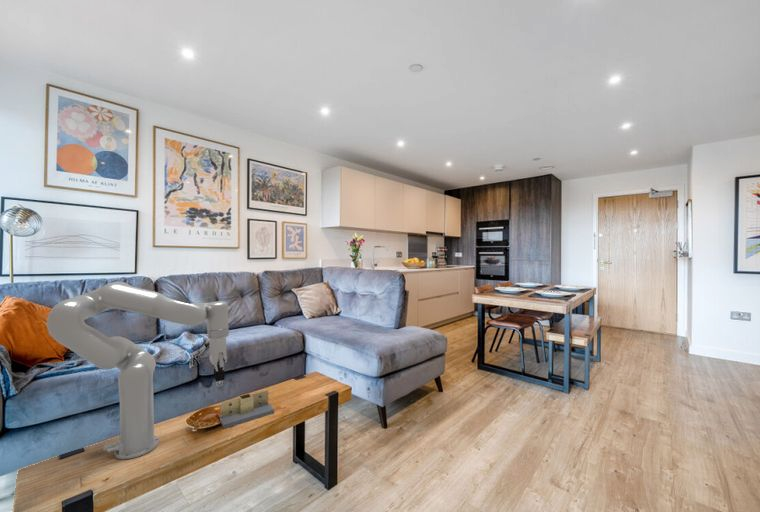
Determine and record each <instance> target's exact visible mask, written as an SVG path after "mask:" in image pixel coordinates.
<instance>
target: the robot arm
mask: <svg viewBox="0 0 760 512" xmlns="http://www.w3.org/2000/svg"><path fill="white" fill-rule="evenodd" d="M111 309H115V310H122V311H126V312H132V313H136V314H141V315H146V316H149V317H152V318H156V319H161V320H163V321H168V322H171V323H175V324H180V325H186V326H193V327H194V326H198V325H201V324H203V322H205V321H206V328H207V329H206V331H207V339H209V350H208V351H209V361H210V363H211V364H212V365H213V379H214V380H215V383H216V382H218V381H222V380H223V381H225V377H226V374H225V363H227V361H228V356H227V355H228V354H227V349H228V348H227V337H229V335H230V334H229V331H230V329H229V304H228V302H227V301H221V300H220V301H219V300H218V301H211V302H198V301H197V302H191V303H187V302H183V301H180V300H175V299H172V298H169V297H167V296H166V295H164V294H163V293H161V292H158V291H154V290H150V289H144V288H141V287H137V286H133V285H130V284H129V283H127V282H124V281H114V282H110V283H106V284H104V285H103V286H101V287H99V288H97V289H94V290H90V291H88V292H85V293H83V294H80V295H77V296H73V297H70V298H67V299H64V300H62V301H59V302H58V303H57V304H55V305H54V306H53V307H52V308H51V310H50V312H49V313H48V315H47V319H46V328H47V332H48V334H49V335H50V336H51V338H52V339H53V340H55V341H56V342H57V343H58V344H60V345H62V347H64V348H67V349H69V350H70V351H71V352H73V353H74V354H75V355H78V357H80V358H82V359H84V360H85V361H87V362H89V363H90V364H92V365H94V366H95V367H97V368H98V369H101V370H113V369H115V368H117V369H118V370H120V371H119V374H118V377H117V387H118V394H119V433H120V434H119V436H120V437H119V439H118V440H116V441H115V442H112V443H107V444H104V445H103V448H102V449H103V450H102V452H106V453H107V454H108V453H113V452H114V457H115V458H116V459H118V460H128V459H134V458H138V457H141V456H143V455H146V454H148V453H150V452H152V451H153V450H154V449H156V447H158V446H159V444H160V437H158V436H156V435H155V424H154V423H155V418H154V414H155V413H154V412H155V411H154V409H155V407H154V406H155V405H154V403H155V402H154V381H153V380H154V373H155V370H156V366H157V362H156V358H155V356H153V355H152V354H151V353H149V352H148V351H146V350H145V349H144V348H142V347H140V346H139V345H138V344H136V343H135V342H133V341H131V340H130V339H129V338H126V337H123V336H119V335H117V336H115V335H114V336H110V337H109V336H107V335H105V334H104V333H102V332H101V331H99V330H98V329H97V328H94V327H93V326H91V325H88V324H86V322H85V321H86V320H88V319H90V318H91V317H94V316H96V315H99V314H101V313H103V312H106V311H108V310H111ZM217 362H219V363H217Z"/></svg>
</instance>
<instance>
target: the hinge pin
mask: <svg viewBox="0 0 760 512" xmlns="http://www.w3.org/2000/svg"><path fill="white" fill-rule="evenodd" d="M217 363H219V362H217ZM223 385H224V380H222V381H218V382H216V381H215V387H216V388H219V387H222V386H223Z"/></svg>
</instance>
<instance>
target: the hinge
mask: <svg viewBox="0 0 760 512" xmlns="http://www.w3.org/2000/svg"><path fill="white" fill-rule="evenodd" d="M268 403H269V390H264V391H259V392H256V393H250V392H249V393H248V392H247V393H245V394H241V395H237V397H236V398H233V399H229V400H226V401H222V402H220V410H221V418H223V417H226V416H229V415H233V414H236V413H240V414H245V413H248V412H252V411H254V408H257V407H261V406H264V405H268Z"/></svg>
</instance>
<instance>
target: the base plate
mask: <svg viewBox="0 0 760 512" xmlns="http://www.w3.org/2000/svg"><path fill="white" fill-rule="evenodd" d="M272 414H275V409H274V407H273V406H272V405H271V404H270V403H269V402H268V405H264V406H261V407H257V408H254V411H252V412H248V413H245V414H240V413H236V414H233V415H229V416H226V417H223V418H221V415H220V416H219V417H220V419H221V422H220V424H221V427H222V429H226V428H230V427H234V426H237V425H240V424H242V423H247V422H250V421H253V420H255V419H259V418H262V417H265V416H269V415H272Z"/></svg>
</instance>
